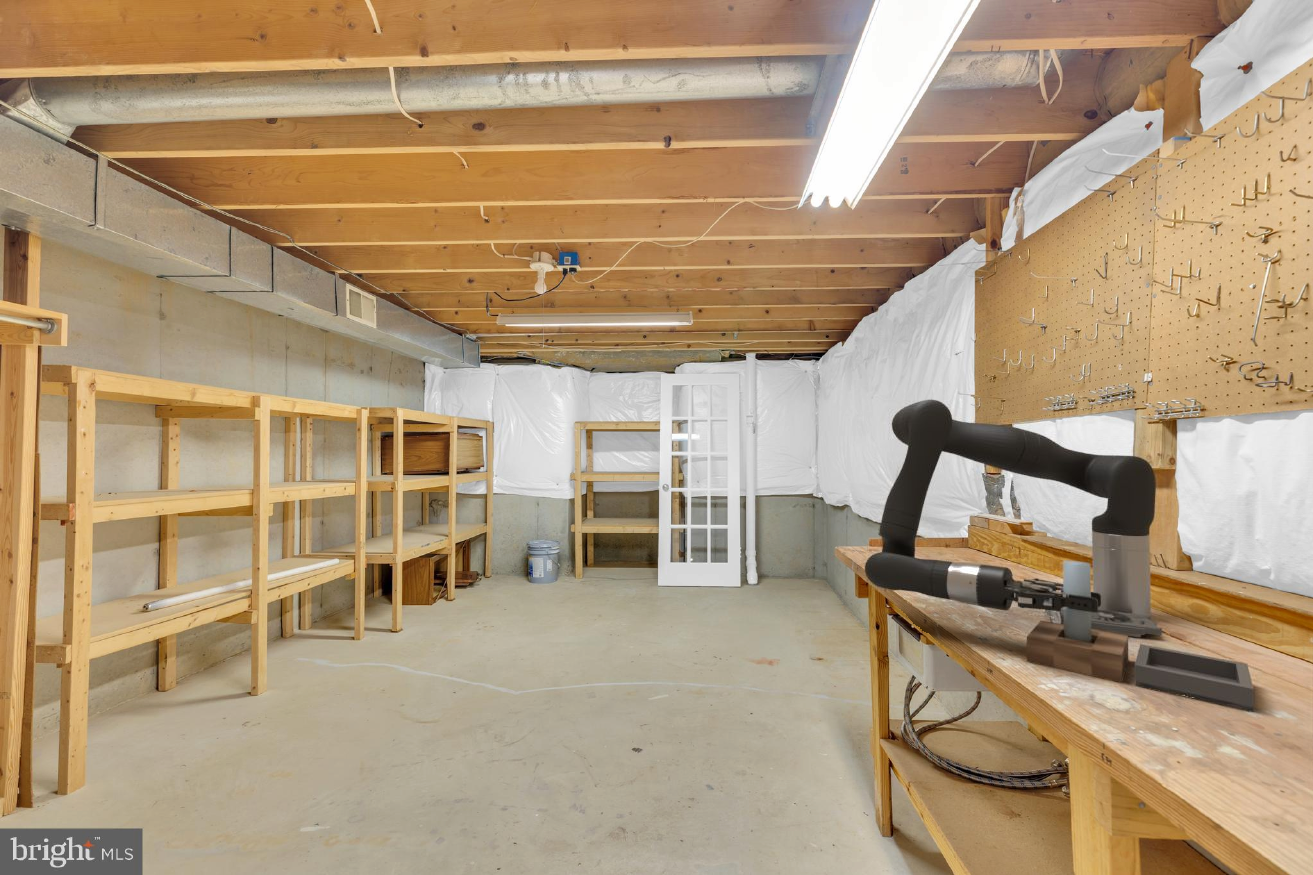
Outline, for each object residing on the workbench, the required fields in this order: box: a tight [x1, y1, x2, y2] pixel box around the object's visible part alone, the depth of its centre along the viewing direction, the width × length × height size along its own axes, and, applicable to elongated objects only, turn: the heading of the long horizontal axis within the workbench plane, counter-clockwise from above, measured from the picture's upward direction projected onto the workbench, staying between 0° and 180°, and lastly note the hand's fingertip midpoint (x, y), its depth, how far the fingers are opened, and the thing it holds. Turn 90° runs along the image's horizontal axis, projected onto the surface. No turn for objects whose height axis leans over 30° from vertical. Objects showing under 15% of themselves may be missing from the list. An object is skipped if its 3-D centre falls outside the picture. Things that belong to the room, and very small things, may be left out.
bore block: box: [1026, 619, 1129, 683], centre depth 92 cm, size 12×12×4 cm
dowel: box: [1062, 560, 1092, 643], centre depth 92 cm, size 4×4×16 cm
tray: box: [1134, 643, 1255, 713], centre depth 83 cm, size 12×12×3 cm
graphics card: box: [1044, 609, 1163, 638], centre depth 108 cm, size 17×4×12 cm
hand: (1098, 602), depth 90 cm, fingers closed on dowel, 3 cm apart
